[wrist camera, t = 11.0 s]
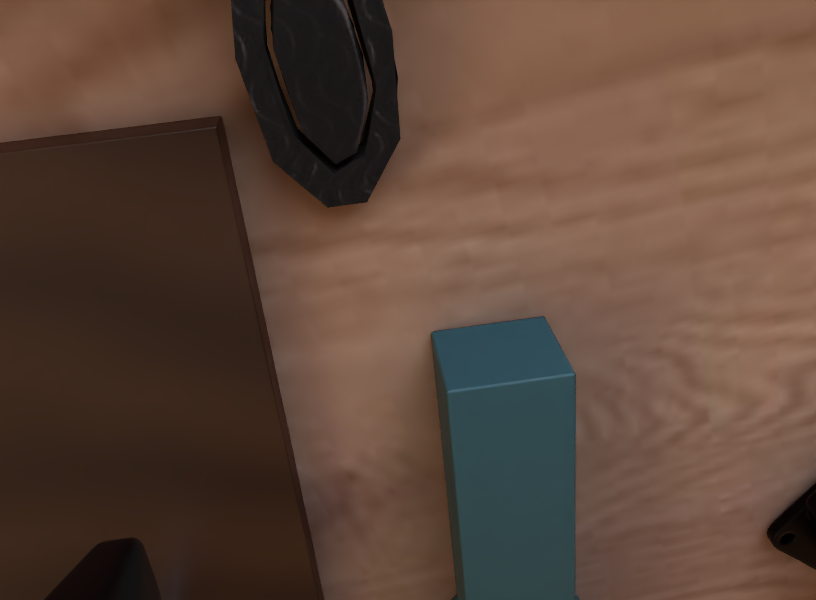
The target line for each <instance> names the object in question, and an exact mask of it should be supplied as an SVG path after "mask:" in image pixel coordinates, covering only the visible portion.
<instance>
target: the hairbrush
mask: <svg viewBox="0 0 816 600" xmlns="http://www.w3.org/2000/svg"><path fill="white" fill-rule="evenodd" d="M347 1H348V4H349V7H350V11H351V14H352V17H353V20H354V24H355V27H356V30H357V34H358V37H359V40H360V43H361V47H362V50H363V53H364V57H365V60H366V63H367V66H368V70H369V73H370V76H371V80H372V87H373V93H372V98H371V102H370V107H369V111H368V115H367V120H366V124H365V129H364V133H363V137H362V142H361V143H360V144H359V142H360V137H361V132H362V127H363V123H364V118H365V113H366V109H367V104H368V95H367V87H366V78H365V70H364V61H363V54H362V51H361V48H360V45H359V42H358V40H357V37H356V34H355V30H354V25H353V23H352V20H351V18H350V16H349V14H348V12H347V9H346V6H345V3H344V1H343V0H271V4H270V12H271V31H272V36H273V48H274V52H275V55H276V58H277V61H278V64H279V67H280V70H281V73H282V76H283V79H284V82H285V85H286V88H287V91H288V93H289V96H290V99H291V101H292V104H293V107H294V110H295V112H296V115H297V118H298V121H299V123H300V126H301V129H302V131H303V133H304V134H305V135H306V136H307V137H308V138H309V139H308V138H307V137H306V136H305V135H304V134H303V133H302V132H301V131H300V130H298V129H297V126H296V124H295V121H294V119H293V117H292V114H291V112H290V109H289V107H288V104H287V102H286V99H285V97H284V94H283V92H282V89H281V87H280V84H279V81H278V78H277V74H276V71H275V68H274V65H273V62H272V59H271V55H270V52H269V49H268V46H267V34H266V12H265V0H231V6H232V19H233V32H234V45H235V58H236V62H237V64H238V67H239V70H240V73H241V75H242V78H243V81H244V83H245V86H246V89H247V92H248V94H249V97H250V100H251V102H252V105H253V108H254V111H255V113H256V116H257V119H258V121H259V124H260V127H261V130H262V132H263V135H264V138H265V141H266V143H267V146H268V149H269V151H270V154H271V157H272V160H273V162H274V163H275V164H276V165H278V166H279V167H280V168H281V169H282V170H284V171H285V172H286V173H287V174H288V175H290V176H291V177H292V178H293V179H294V180H296V181H297V182H298V183H299V184H300V185H301V186H303V187H304V188H305V189H306V190H307V191H309V192H310V193H311V194H312V195H313V196H315V197H316V198H317V199H318V200H319V201H321V202H322V203H323V204H324V205H325V206H327V207H335V206H342V205H350V204H357V203H365V202H367V201H368V199H369V197H370V195H371V193H372V192H373V190H374V188H375V186H376V184H377V182H378V180H379V178H380V176H381V174H382V173H383V171H384V169H385V167H386V165H387V163H388V161H389V159H390V157H391V155H392V154H393V152H394V150H395V148H396V146H397V144H398V142H399V140H400V126H399V113H398V101H397V83H398V76H397V71H396V66H395V60H394V49H393V36H392V29H391V26H390V23H389V20H388V17H387V14H386V11H385V8H384V4H383V1H382V0H347Z"/></svg>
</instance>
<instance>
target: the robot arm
mask: <svg viewBox="0 0 816 600" xmlns="http://www.w3.org/2000/svg"><path fill="white" fill-rule="evenodd" d="M767 537H768V538H769V540H770V541H771V543H772V544H773V545H774V547H776V548H777V549H778V550H780V551H782V552H784V553H786V554H788V555H790V556H791V557H793V558H795V559H797V560H799V561H801V562H802V563H804V564H806V565H808V566H810V567H812V568H814V569H815V570H816V484H815V485H813V486H812V487H811V488H810V489H809V490H808V491H807V492H806V493H805V494H804V495H803V496H802V497H801V498H799V499H798V500H797V501H796V502H795V503H794V504H793V505H792V506H791V507H790V508H789V509H788V510H787V511H785V512H784V513H783V514H782V515H781V516H780V517H779V518H778V519H777V520H776V521H775V522H774V523H772V524H771V526H770V527H769V528H768V530H767ZM44 600H161V596H160V591H159V588H158V585H157V582H156V579H155V576H154V573H153V570H152V568H151V565H150V562H149V559H148V556H147V553H146V550H145V548H144V545H143V544H142V542H141V541H140V540H139V539H137V538H134V537H130V538H123V539H116V540H109V541H104V542H101V543H99V544H97V545H96V546H95V547H93V548H92V549H91V550H90V551H89V553H88V554H87V555H86V556H85V557H84V558H83V559H82V560H81V561H80V562H79V563H78V564H77V565H76V566H75V567H74V568H73V569H72V570H71V571H70V573H69V574H68V575H67V576H66V577H65V578H64V579H63V580H62V581H61V582H60V583H59V584H58V585H57V586H56V587H55V588H54V589H53V590H52V591H51V592H50V594H49V595H48V596H47V597H46V598H45V599H44Z"/></svg>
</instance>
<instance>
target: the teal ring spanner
mask: <svg viewBox="0 0 816 600" xmlns="http://www.w3.org/2000/svg"><path fill="white" fill-rule="evenodd" d="M431 339H432V349H433V359H434V369H435V379H436V389H437V399H438V409H439V419H440V429H441V440H442V450H443V460H444V470H445V480H446V490H447V500H448V510H449V520H450V530H451V540H452V550H453V560H454V570H455V580H456V590H457V595H456V596H455V597H454V598H453V599H452V600H579V598H578V596H577V595H575V432H576V374H575V372H574V371H573V369H572V367H571V365H570V363H569V361H568V359H567V358H566V356H565V354H564V352H563V350H562V348H561V346H560V345H559V343H558V341H557V339H556V337H555V335H554V334H553V332H552V330H551V328H550V326H549V324H548V322H547V321H546V319H545V317H535V318H528V319H521V320H513V321H506V322H499V323H492V324H484V325H477V326H470V327H462V328H455V329H448V330H441V331H434V332H432V334H431Z"/></svg>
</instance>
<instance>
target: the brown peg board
mask: <svg viewBox="0 0 816 600" xmlns="http://www.w3.org/2000/svg"><path fill="white" fill-rule="evenodd" d="M130 537H134V538H137V539H139V540H140V541H141V542H142V544H143V545H144V548H145V550H146V553H147V556H148V559H149V562H150V565H151V568H152V570H153V573H154V576H155V579H156V582H157V585H158V588H159V591H160V596H161V600H324V596H323V592H322V587H321V582H320V577H319V573H318V568H317V563H316V559H315V554H314V549H313V544H312V540H311V535H310V530H309V526H308V521H307V516H306V511H305V507H304V502H303V497H302V493H301V488H300V483H299V479H298V474H297V469H296V464H295V460H294V455H293V450H292V446H291V441H290V436H289V431H288V427H287V422H286V417H285V413H284V408H283V403H282V398H281V394H280V389H279V384H278V380H277V375H276V370H275V366H274V361H273V356H272V351H271V347H270V342H269V337H268V333H267V328H266V323H265V318H264V314H263V309H262V304H261V300H260V295H259V290H258V285H257V281H256V276H255V271H254V267H253V262H252V257H251V253H250V248H249V243H248V238H247V234H246V229H245V224H244V220H243V215H242V210H241V205H240V201H239V196H238V191H237V187H236V182H235V177H234V172H233V168H232V163H231V158H230V154H229V149H228V144H227V140H226V135H225V130H224V125H223V121H222V117H220V116H217V117H208V118H200V119H192V120H184V121H176V122H168V123H160V124H151V125H143V126H135V127H127V128H119V129H111V130H102V131H94V132H86V133H78V134H70V135H62V136H53V137H45V138H37V139H29V140H21V141H13V142H4V143H0V600H44V599H45V598H46V597H47V596H48V595H49V594H50V592H51V591H52V590H53V589H54V588H55V587H56V586H57V585H58V584H59V583H60V582H61V581H62V580H63V579H64V578H65V577H66V576H67V575H68V574H69V573H70V571H71V570H72V569H73V568H74V567H75V566H76V565H77V564H78V563H79V562H80V561H81V560H82V559H83V558H84V557H85V556H86V555H87V554H88V553H89V551H90V550H91V549H92V548H93V547H95V546H96V545H97V544H99V543H101V542H104V541H109V540H116V539H123V538H130Z"/></svg>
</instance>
